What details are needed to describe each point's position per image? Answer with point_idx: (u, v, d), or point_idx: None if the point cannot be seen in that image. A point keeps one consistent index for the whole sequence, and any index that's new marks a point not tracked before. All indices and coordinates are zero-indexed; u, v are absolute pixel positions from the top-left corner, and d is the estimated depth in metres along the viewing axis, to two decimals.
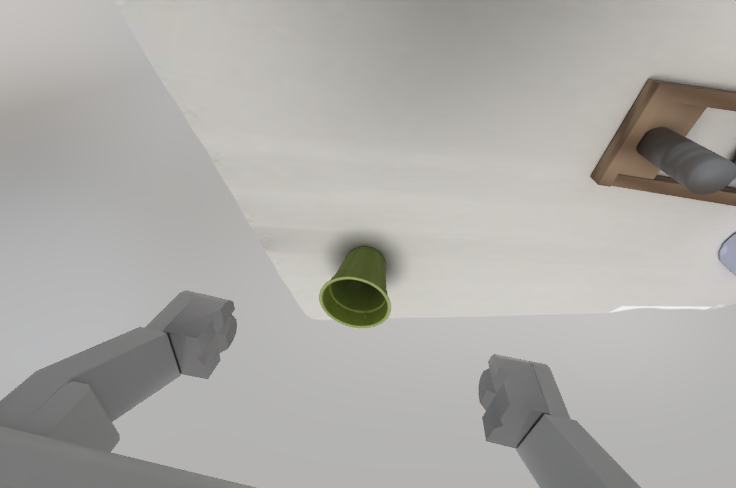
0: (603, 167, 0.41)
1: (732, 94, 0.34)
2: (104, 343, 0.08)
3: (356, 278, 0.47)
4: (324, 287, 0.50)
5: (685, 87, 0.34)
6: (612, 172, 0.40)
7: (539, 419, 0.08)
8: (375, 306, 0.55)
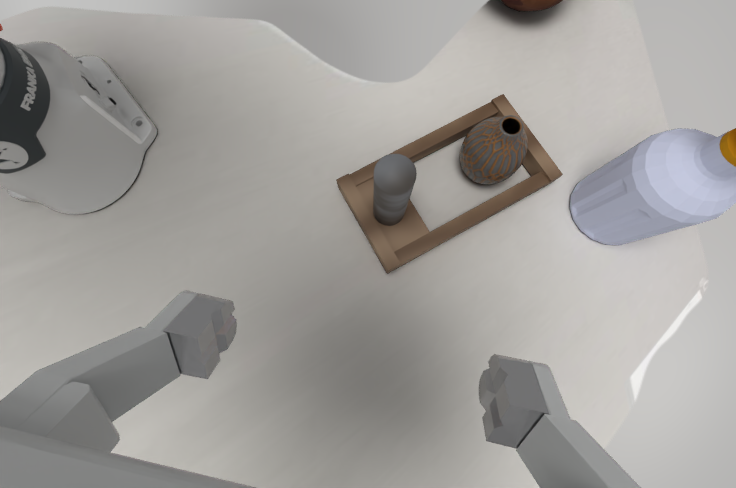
0: (379, 257, 0.35)
1: (394, 152, 0.38)
2: (104, 343, 0.08)
3: None
4: None
5: (358, 170, 0.37)
6: (386, 252, 0.35)
7: (539, 419, 0.08)
8: None
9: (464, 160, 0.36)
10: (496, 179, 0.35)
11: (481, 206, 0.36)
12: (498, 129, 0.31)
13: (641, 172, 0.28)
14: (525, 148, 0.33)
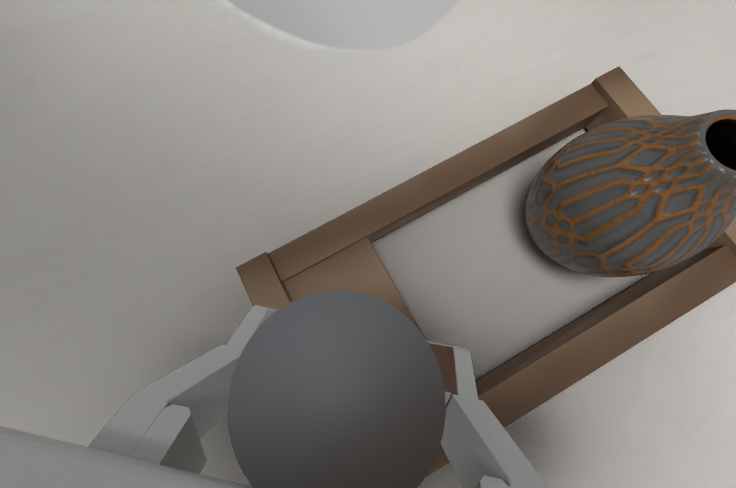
0: None
1: (376, 198, 0.16)
2: (191, 362, 0.07)
3: None
4: None
5: (293, 242, 0.16)
6: None
7: (449, 400, 0.08)
8: None
9: (547, 224, 0.14)
10: (632, 275, 0.14)
11: (588, 336, 0.15)
12: (693, 153, 0.10)
13: None
14: None
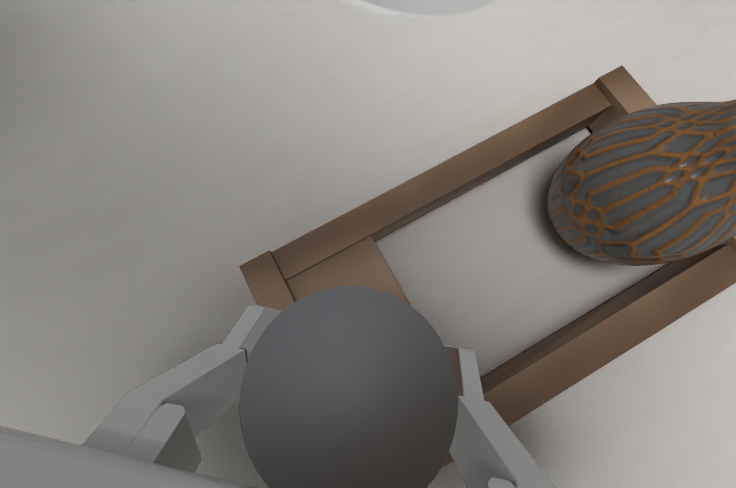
0: None
1: (379, 197, 0.16)
2: (187, 361, 0.07)
3: None
4: None
5: (296, 241, 0.16)
6: None
7: None
8: None
9: (574, 214, 0.14)
10: (661, 262, 0.14)
11: (591, 334, 0.15)
12: (731, 138, 0.10)
13: None
14: None
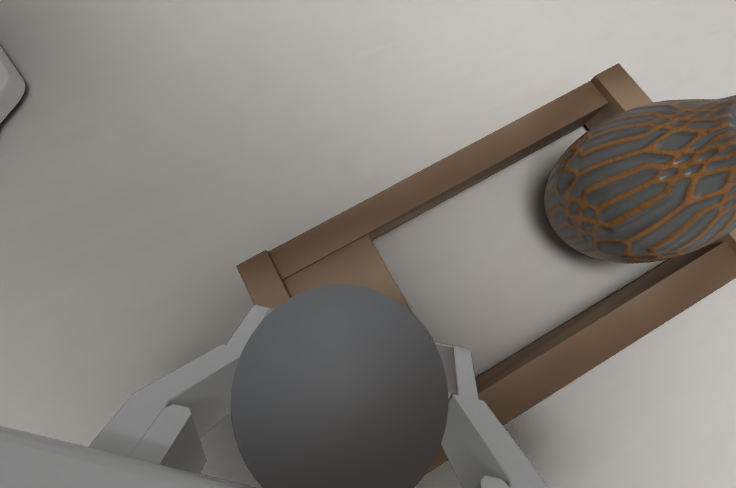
0: None
1: (376, 196, 0.16)
2: (192, 362, 0.07)
3: None
4: None
5: (293, 240, 0.16)
6: None
7: (449, 400, 0.08)
8: None
9: (570, 212, 0.14)
10: (656, 260, 0.14)
11: (588, 332, 0.15)
12: (725, 135, 0.10)
13: None
14: None
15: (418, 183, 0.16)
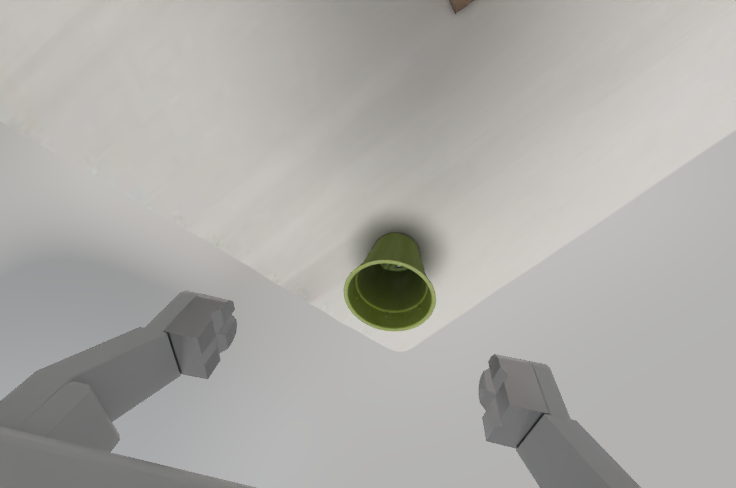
0: None
1: None
2: (104, 343, 0.08)
3: (363, 265, 0.38)
4: (346, 297, 0.41)
5: None
6: None
7: (539, 419, 0.08)
8: (424, 291, 0.43)
9: None
10: None
11: None
12: None
13: None
14: None
15: None
